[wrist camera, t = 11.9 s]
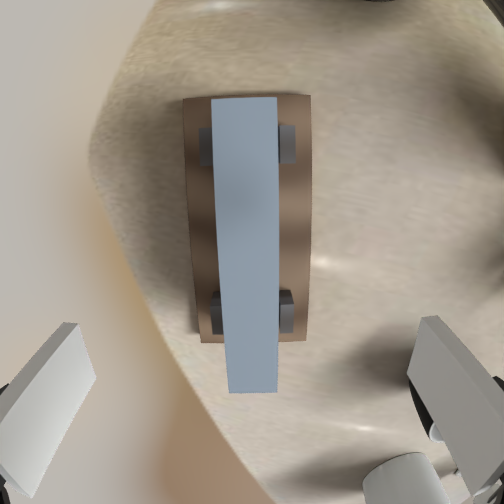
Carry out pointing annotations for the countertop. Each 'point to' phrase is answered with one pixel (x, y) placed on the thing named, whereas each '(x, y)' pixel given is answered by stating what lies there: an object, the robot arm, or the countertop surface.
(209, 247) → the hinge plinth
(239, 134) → the door panel
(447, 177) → the countertop surface
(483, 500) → the wineglass
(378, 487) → the utensil holder
